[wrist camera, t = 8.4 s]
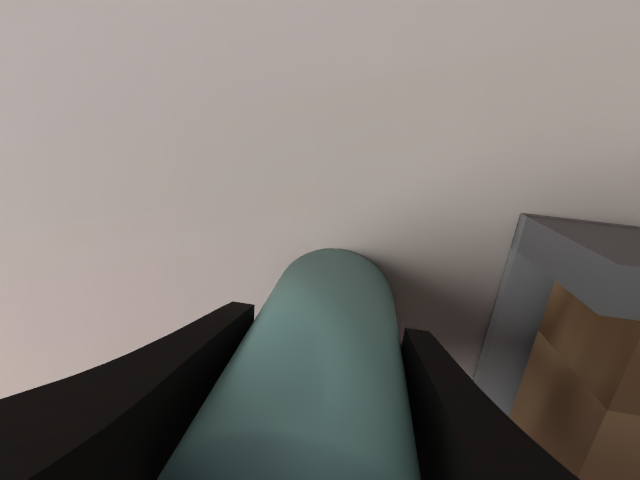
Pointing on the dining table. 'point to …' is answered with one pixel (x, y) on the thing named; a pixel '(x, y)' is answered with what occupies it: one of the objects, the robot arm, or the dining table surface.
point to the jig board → (536, 285)
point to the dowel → (310, 385)
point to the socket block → (583, 390)
